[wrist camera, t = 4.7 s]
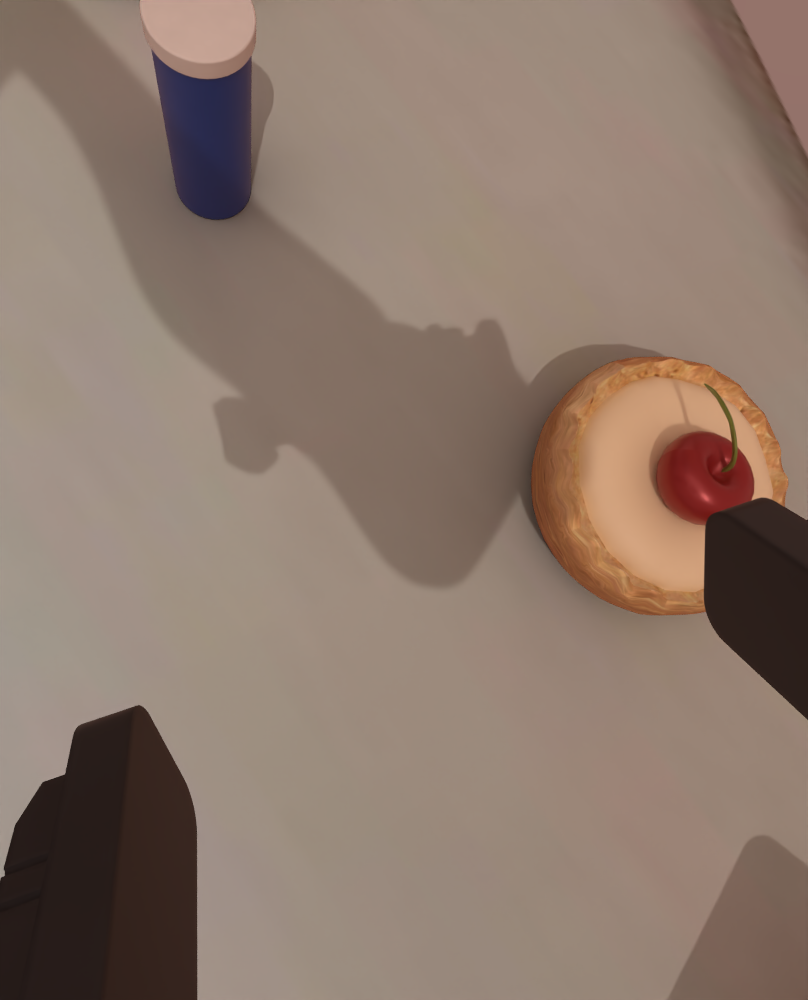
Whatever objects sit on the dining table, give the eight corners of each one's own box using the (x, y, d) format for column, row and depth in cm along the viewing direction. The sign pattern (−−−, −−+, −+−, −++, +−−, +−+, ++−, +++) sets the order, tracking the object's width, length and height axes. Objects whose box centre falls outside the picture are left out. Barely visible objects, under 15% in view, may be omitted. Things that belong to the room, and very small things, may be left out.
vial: (159, 201, 32) (119, 27, 22) (191, 136, 32) (167, -60, 23) (235, 236, 32) (229, 81, 23) (266, 171, 33) (273, -5, 23)
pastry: (551, 646, 33) (658, 664, 24) (479, 410, 34) (558, 347, 25) (755, 575, 36) (915, 568, 27) (684, 360, 37) (818, 287, 28)
